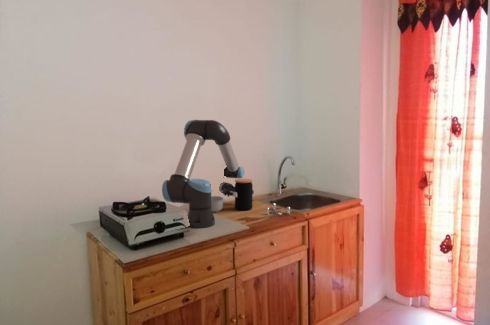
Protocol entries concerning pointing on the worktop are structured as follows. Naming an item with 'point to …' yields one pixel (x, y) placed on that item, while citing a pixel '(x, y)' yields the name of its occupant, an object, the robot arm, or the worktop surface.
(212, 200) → the teacup
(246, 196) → the coffee jar
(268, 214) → the pin ring
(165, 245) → the worktop surface
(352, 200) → the worktop surface
